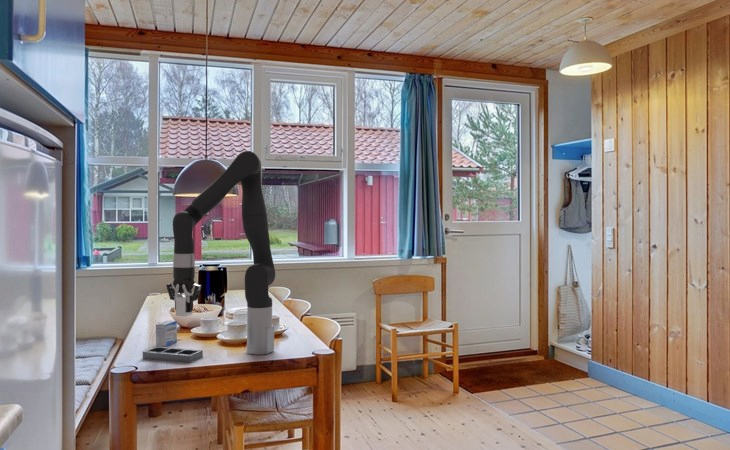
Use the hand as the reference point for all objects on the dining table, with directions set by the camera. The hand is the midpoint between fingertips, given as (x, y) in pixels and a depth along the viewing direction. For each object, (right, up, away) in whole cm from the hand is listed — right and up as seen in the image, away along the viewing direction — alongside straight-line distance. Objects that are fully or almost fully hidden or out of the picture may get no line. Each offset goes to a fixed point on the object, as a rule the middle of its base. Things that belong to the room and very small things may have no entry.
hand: (183, 311), depth 190 cm
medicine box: (-11, -15, +13) cm, 23 cm away
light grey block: (0, -1, 0) cm, 1 cm away
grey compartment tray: (-2, -15, -6) cm, 17 cm away
